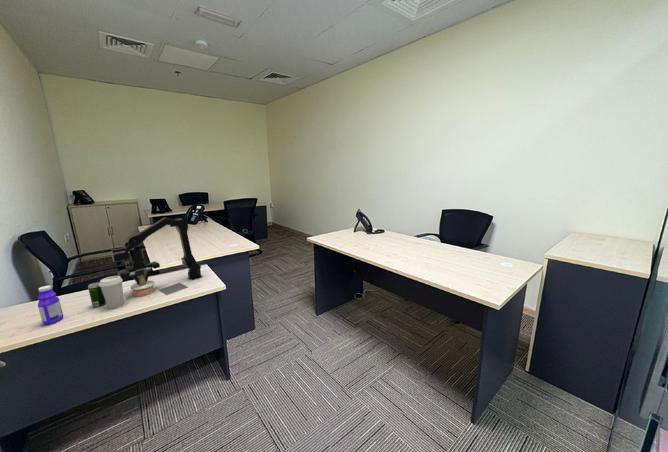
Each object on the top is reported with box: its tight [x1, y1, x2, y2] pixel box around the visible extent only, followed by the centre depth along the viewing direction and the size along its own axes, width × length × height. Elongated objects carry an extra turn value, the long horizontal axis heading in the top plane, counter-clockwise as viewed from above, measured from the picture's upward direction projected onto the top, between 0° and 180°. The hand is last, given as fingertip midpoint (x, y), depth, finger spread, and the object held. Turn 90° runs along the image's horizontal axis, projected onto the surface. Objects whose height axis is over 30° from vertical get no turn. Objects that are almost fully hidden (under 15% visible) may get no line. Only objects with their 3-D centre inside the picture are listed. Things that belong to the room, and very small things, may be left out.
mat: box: [158, 282, 189, 296], centre depth 155 cm, size 12×12×1 cm
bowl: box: [131, 285, 155, 297], centre depth 151 cm, size 10×10×4 cm
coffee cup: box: [99, 275, 125, 310], centre depth 136 cm, size 10×10×15 cm
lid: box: [130, 274, 155, 291], centre depth 149 cm, size 11×11×6 cm
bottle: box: [37, 285, 64, 325], centre depth 123 cm, size 7×6×17 cm
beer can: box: [87, 281, 107, 309], centre depth 137 cm, size 5×5×12 cm
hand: (142, 283), depth 150 cm, fingers closed on lid, 3 cm apart
